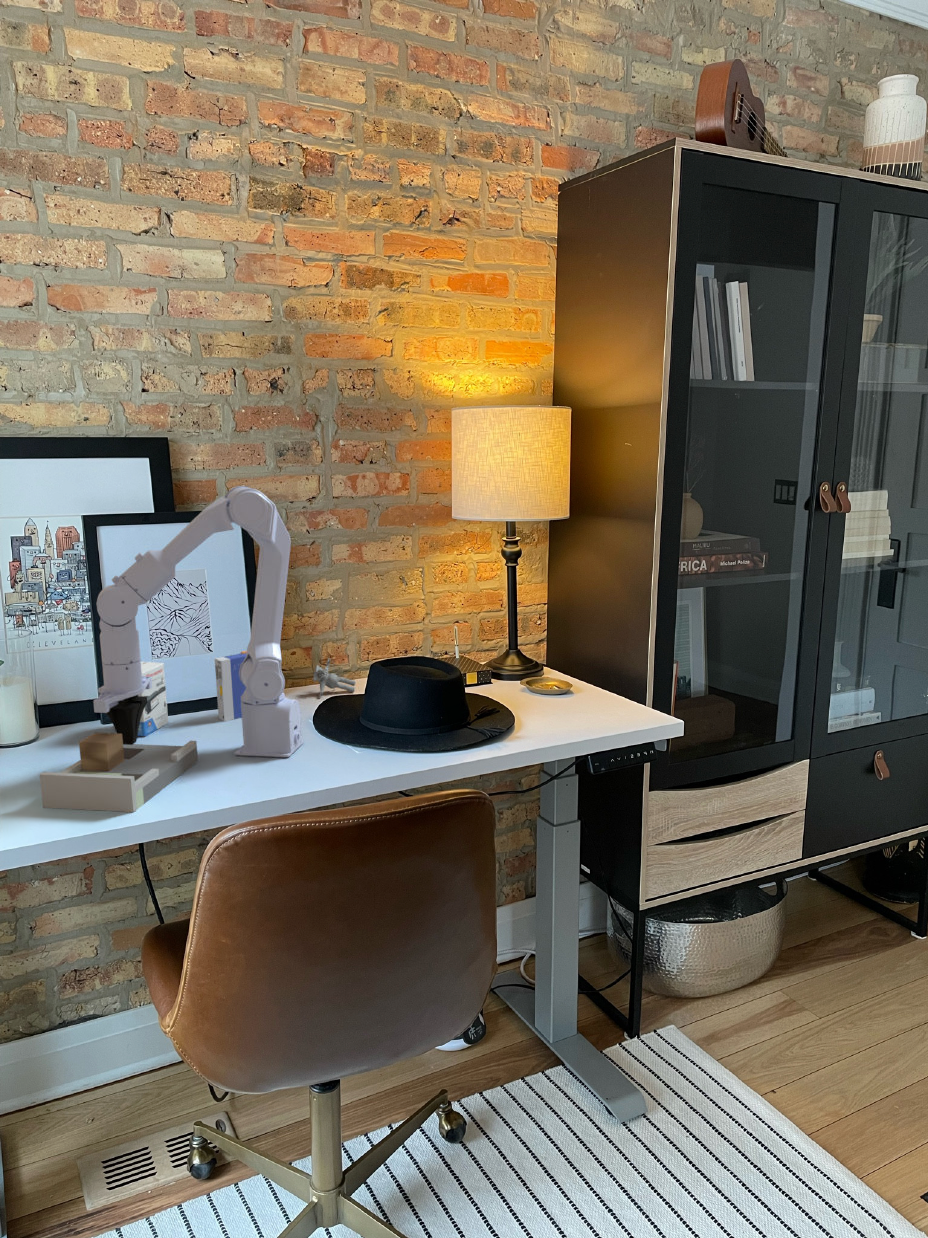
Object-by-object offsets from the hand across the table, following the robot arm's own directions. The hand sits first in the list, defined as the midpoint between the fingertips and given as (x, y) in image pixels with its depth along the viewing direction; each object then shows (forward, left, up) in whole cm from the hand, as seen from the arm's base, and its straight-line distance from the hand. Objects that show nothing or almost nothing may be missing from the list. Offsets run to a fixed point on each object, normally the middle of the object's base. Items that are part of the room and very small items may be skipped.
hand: (128, 743), depth 148 cm
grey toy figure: (-20, -47, -4) cm, 51 cm away
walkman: (-7, -29, -4) cm, 30 cm away
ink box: (+7, -19, -4) cm, 20 cm away
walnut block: (+1, +6, -2) cm, 7 cm away
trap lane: (-3, +6, -4) cm, 8 cm away
